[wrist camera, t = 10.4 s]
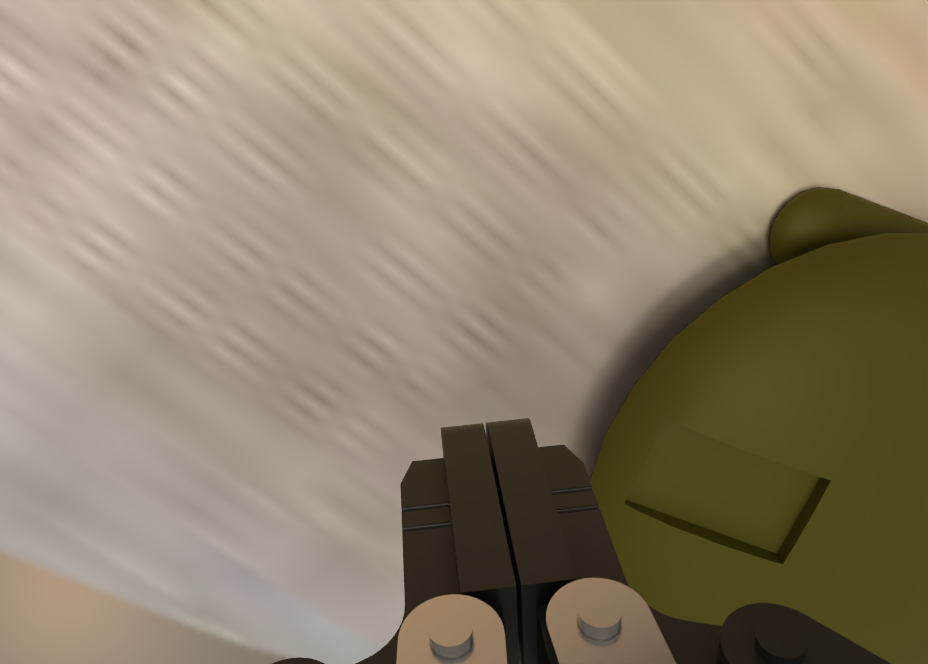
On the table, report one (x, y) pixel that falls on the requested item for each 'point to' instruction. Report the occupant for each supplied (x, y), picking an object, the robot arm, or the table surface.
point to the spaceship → (789, 438)
